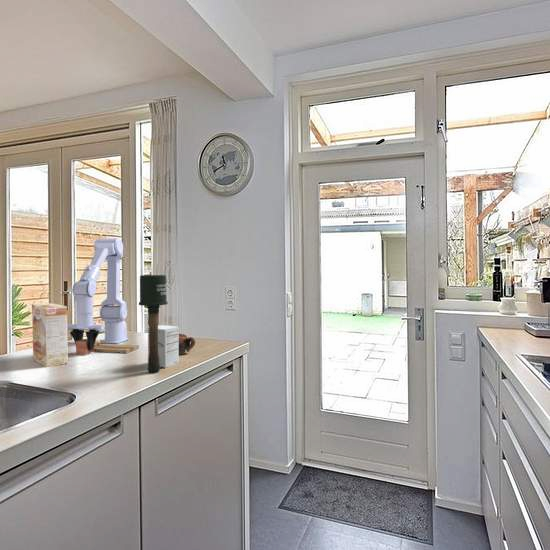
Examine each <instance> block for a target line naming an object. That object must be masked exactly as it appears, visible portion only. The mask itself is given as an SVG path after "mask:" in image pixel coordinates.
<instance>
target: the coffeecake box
mask: <svg viewBox="0 0 550 550" xmlns="http://www.w3.org/2000/svg"><path fill="white" fill-rule="evenodd" d="M31 314H32V315H31V320H32V325H31V326H32V360H33V361H35V362H37V363H38V364H40V365H42V366H43V367H45V368H51V367H55V365H57V366H61V365H60V364H63V365H66V364H65V363H69V362H68V361H69V359H68V358H69V357H68V356H69V355H68V353H69V352H68V351H69V350H68V330H67V325H68V307H67V305H66V306H65V305H62V304H57V303H55V302H54V303H53V302H49V303H48V302H47V303H46V302H45V303H33V304H31ZM50 366H51V367H50Z"/></svg>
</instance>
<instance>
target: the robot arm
mask: <svg viewBox="0 0 550 550" xmlns="http://www.w3.org/2000/svg"><path fill="white" fill-rule="evenodd" d="M93 249H94V253H93V255H92V256H93V257H92V259H91V260H90V265H87V266H85V268H84V270H83V272H82V274H81V275H80V276H81V277H80V278H79V280H78V281H76V282H75V283H73V286H72V290H71V291H72V294H73V297H74V301H75V315H76V316H75V319H76V322H75V323H69V324H68V323H67V331H69V330H70V331H69V334H70V336H71V338H72V339H73V341H74V345H76V341H78V340H82V339H84V335H86V339H87V340H88V350H93V348H94V345H95V341H96V340H97V338H98V336H99V334H100V332H104V340H100V343H99V344H120V343H123V342H126V341H127V340H129V339H130V338H129V337H128V325H127V322H126V321H125V320H126V318H127V317H128V307H127V302H126V301H125V300H123V298H121V297H120V293H121V292H120V291H121V290H120V289H121V288H120V285H121V284H120V283H121V282H120V281H121V259H123V257H124V243H123V241H122V239H121V238H119V237H117V238H100V237H99V238H96V239H95V241H94V243H93ZM104 261H106V262H107V267H106V268H107V269H106V271H107V272H106V275H107V276H106V299H104V300H103V301H102V302H101V303H100V304H101V305H100V309H99V317H100V319H101V320H102V321H103V322H104V324H94V296H95V295H96V293H97V286H98V285H97V284H98V283H97V282H98V280H99V277H100V275H101V273H102V272H101V267H102V265H103V263H104ZM84 332H85V334H84Z"/></svg>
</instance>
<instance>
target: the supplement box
mask: <svg viewBox="0 0 550 550" xmlns="http://www.w3.org/2000/svg"><path fill="white" fill-rule="evenodd" d="M179 328H180V327H179V326H175V325H166V324H165V325H159V324H158V354H159V364H160V368H164V369H166V368H167V369H168V368H169V367H172V366H175V365H177V364H179V360H180V359H179V357H180V355H179V334H180V333H179V330H180V329H179ZM148 358H149V327H147V359H148Z"/></svg>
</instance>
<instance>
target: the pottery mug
mask: <svg viewBox="0 0 550 550" xmlns="http://www.w3.org/2000/svg"><path fill="white" fill-rule="evenodd" d="M195 344H196V340H195V338H194V337H188V336H187V335H186V334H185V333H179V356H180V355H182V356H185V355H186V352H187V353H189V352H190V350H192V349H193V348H194V346H195Z"/></svg>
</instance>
